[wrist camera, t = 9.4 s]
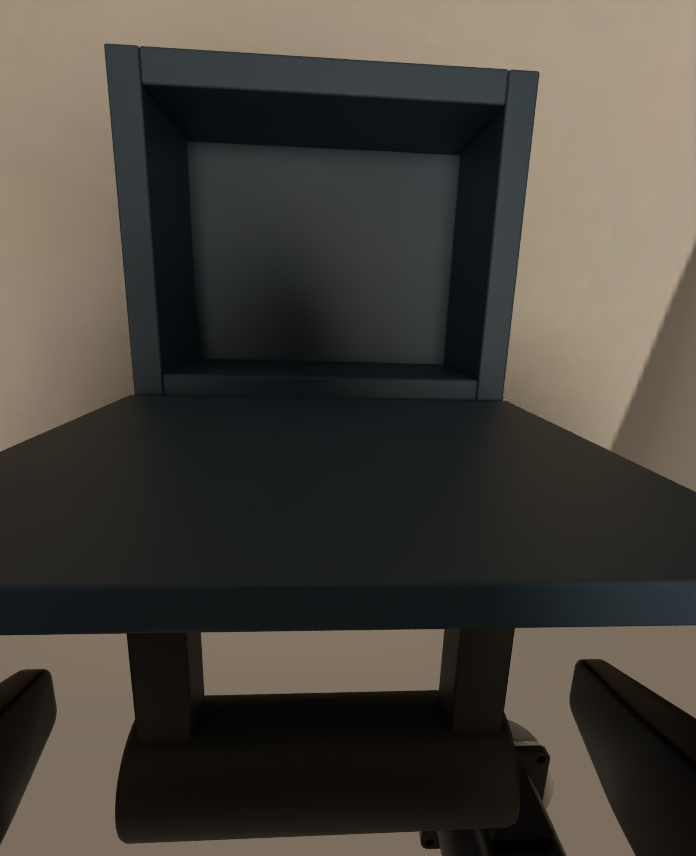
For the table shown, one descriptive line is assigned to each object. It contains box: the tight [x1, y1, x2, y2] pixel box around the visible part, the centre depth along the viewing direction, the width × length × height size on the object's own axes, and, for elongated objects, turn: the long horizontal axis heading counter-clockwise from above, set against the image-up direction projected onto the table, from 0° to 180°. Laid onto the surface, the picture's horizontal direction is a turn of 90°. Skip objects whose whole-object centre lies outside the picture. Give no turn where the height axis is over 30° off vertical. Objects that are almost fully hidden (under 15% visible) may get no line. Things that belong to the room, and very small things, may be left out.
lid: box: [0, 395, 696, 844], centre depth 9 cm, size 9×11×4 cm
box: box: [104, 44, 539, 401], centre depth 15 cm, size 9×11×5 cm
